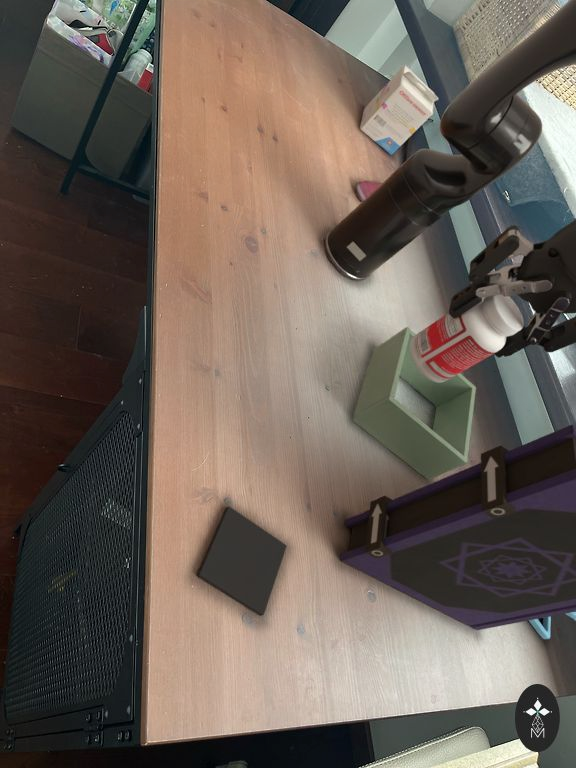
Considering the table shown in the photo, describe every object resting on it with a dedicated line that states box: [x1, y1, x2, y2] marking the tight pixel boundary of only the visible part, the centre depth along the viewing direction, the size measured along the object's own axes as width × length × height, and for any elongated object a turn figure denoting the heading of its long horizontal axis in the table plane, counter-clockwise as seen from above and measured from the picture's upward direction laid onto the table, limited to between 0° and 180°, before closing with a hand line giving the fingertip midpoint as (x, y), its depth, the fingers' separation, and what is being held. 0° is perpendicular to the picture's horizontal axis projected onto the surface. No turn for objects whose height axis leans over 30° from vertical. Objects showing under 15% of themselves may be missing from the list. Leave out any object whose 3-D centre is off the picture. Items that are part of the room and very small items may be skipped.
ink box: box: [359, 64, 439, 156], centre depth 120 cm, size 9×8×13 cm
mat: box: [196, 506, 287, 617], centre depth 63 cm, size 8×8×1 cm
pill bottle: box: [410, 295, 525, 383], centre depth 66 cm, size 6×6×11 cm
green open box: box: [352, 326, 477, 481], centre depth 87 cm, size 15×15×7 cm
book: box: [339, 424, 576, 631], centre depth 66 cm, size 24×6×30 cm, turn 77°
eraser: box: [354, 180, 383, 203], centre depth 112 cm, size 11×4×2 cm, turn 117°
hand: (474, 330), depth 65 cm, fingers closed on pill bottle, 6 cm apart
